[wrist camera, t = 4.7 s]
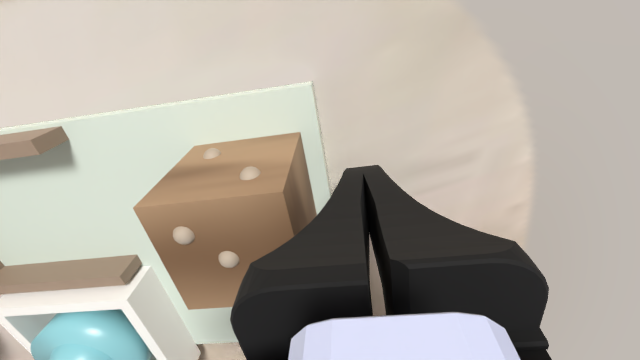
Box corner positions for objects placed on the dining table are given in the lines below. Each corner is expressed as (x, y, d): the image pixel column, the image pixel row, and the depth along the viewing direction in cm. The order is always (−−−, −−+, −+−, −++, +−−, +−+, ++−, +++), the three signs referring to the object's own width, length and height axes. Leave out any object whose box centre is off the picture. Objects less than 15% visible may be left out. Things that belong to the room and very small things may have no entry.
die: (318, 221, 15) (310, 308, 11) (226, 230, 15) (185, 316, 11) (298, 126, 12) (278, 188, 8) (192, 140, 13) (123, 206, 9)
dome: (174, 352, 20) (143, 419, 16) (93, 356, 20) (49, 421, 17) (134, 290, 17) (88, 357, 14) (43, 297, 18) (-22, 361, 14)
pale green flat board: (354, 336, 20) (356, 383, 17) (73, 349, 22) (40, 392, 20) (312, 81, 12) (306, 101, 10) (-112, 145, 14) (-203, 174, 12)
